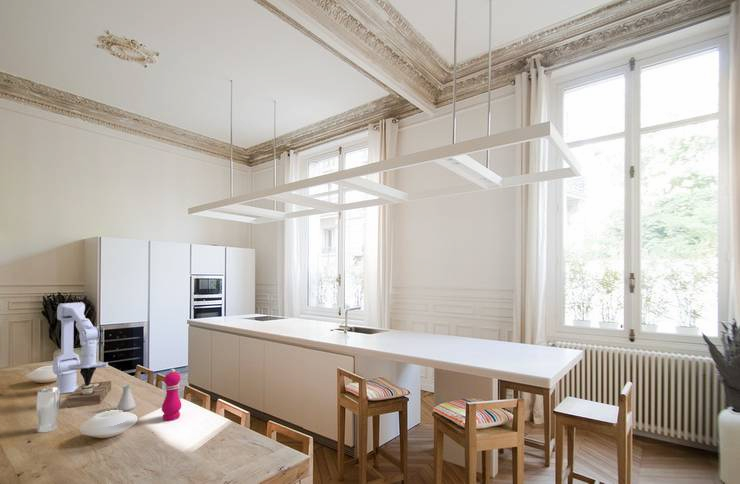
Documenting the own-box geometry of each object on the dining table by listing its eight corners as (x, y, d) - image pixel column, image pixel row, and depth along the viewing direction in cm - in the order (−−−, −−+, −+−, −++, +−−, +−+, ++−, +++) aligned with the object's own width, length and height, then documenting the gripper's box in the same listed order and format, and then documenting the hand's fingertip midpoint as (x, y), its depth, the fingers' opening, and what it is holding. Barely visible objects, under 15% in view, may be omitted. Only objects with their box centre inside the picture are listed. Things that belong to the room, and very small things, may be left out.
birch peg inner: (89, 392, 186) (90, 384, 186) (100, 390, 188) (100, 382, 188) (87, 394, 182) (87, 386, 182) (98, 393, 184) (98, 385, 184)
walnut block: (82, 392, 187) (82, 384, 187) (111, 389, 192) (111, 381, 192) (67, 408, 167) (67, 398, 167) (99, 404, 172) (100, 395, 172)
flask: (139, 405, 170) (140, 383, 170) (127, 412, 162) (128, 388, 163) (124, 405, 170) (125, 382, 171) (112, 411, 163) (113, 388, 164)
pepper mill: (172, 422, 152) (174, 371, 153) (157, 420, 154) (158, 370, 155) (185, 415, 159) (186, 366, 160) (170, 413, 161) (171, 366, 162)
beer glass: (37, 435, 141) (39, 394, 142) (32, 430, 145) (34, 390, 146) (61, 428, 146) (62, 389, 147) (55, 423, 151) (57, 385, 151)
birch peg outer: (82, 393, 175) (83, 384, 175) (94, 391, 177) (94, 383, 177) (80, 396, 171) (80, 387, 171) (91, 394, 173) (92, 386, 173)
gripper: (66, 358, 168) (65, 389, 168) (105, 355, 174) (104, 385, 173) (71, 354, 175) (70, 384, 174) (109, 351, 181) (108, 380, 180)
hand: (87, 384), depth 174 cm, fingers closed
